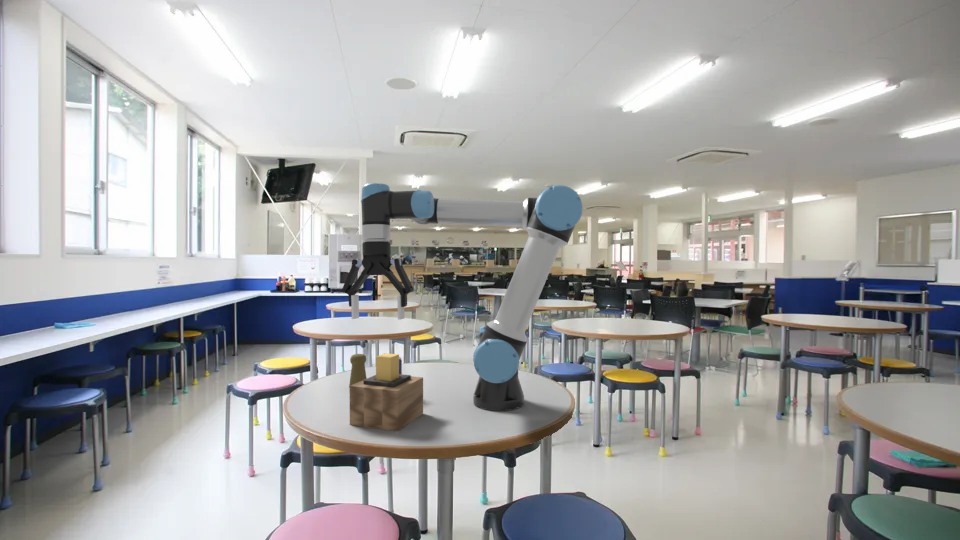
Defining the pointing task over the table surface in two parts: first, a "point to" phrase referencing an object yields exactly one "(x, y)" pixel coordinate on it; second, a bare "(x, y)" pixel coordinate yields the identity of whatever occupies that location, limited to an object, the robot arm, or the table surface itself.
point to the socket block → (386, 402)
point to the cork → (357, 368)
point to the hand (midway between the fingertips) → (378, 318)
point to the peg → (387, 367)
